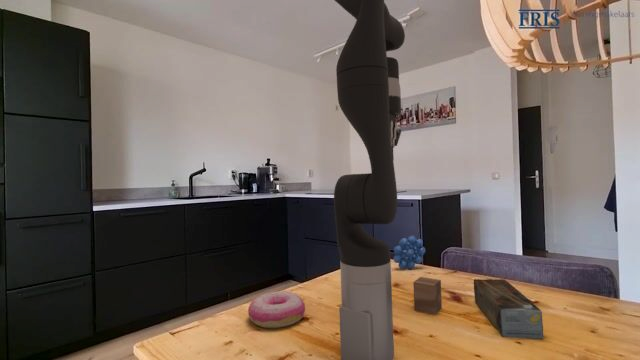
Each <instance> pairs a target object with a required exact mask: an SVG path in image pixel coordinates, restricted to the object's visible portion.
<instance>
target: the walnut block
mask: <svg viewBox="0 0 640 360" xmlns="http://www.w3.org/2000/svg"><path fill="white" fill-rule="evenodd" d="M412 283H413V303H414V304H413V308H414V310H413V311H414V312H415V311H416V312H418V313H423V314H427V315H432V316H436V315H437V314H438V313H439V312H440V311H441V310H442V308H443V306H442V305H443V302H442V280H441V279H437V278H432V277H431V278H430V277H427V276H426V277H424V276H420V277H419V278H417V279H415V280H414V281H413V282H412Z"/></svg>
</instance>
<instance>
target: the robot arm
mask: <svg viewBox="0 0 640 360" xmlns="http://www.w3.org/2000/svg"><path fill="white" fill-rule="evenodd" d="M334 2H335V3H337V4H338V5H339V6H341V8H343V10H345V11H346V12H347V13H348V14H349V15H351V16H352V17H354V19H355V20H356V21H355V24H354V25H353V28H352V30H351V32H350V33H349V35H348V37H347V39H346V42H345V43H344V45H343V48H342V50H341V52H340V55H339V56H338V57H339V58H338V60H337V64H336V69H335V70H336V71H335V72H336V86H337V87H336V88H337V89H336V90H337V91H336V92H337V100H338V101H337V102H338V105H339V108H340V110H341V111H342V113H343V115H344V116H345V118H346V120H347V121H348V122H349V124H350V125H351V126H352V128H353V129H354V130H355V131H356V133H357V134H358V136H359V137H360V139H361V141H362V143H363V144H364V146H365V148H366V151H367V154H368V159H369V164H370V169H371V173H351V174H344V175H342V176H339V178H338V179H337V181H336V184H335V185H334V191H333V206H334V207H333V209H334V221H335V230H336V233H335V234H336V243H337V248H338V252H339V263H340V264H339V265H340V267H339V268H340V294H341V296H340V297H341V305H340V306H339V311H338V312H339V313H338V314H339V338H340V359H341V360H394V358H395V348H394V347H395V346H394V344H395V343H394V340H395V339H394V317H393V295H392V294H393V293H392V292H393V291H392V289H393V288H392V263H391V249H390V246H389V245H388V244H387V243H386V242H384V241H382V240H380V239H377V238H375V237H374V236H372V235H370V233H368V232H367V231H366V230H365V229H364V227H363V224H364V225H389V224H391V223H393V221H394V220H395V219H396V215H397V211H398V190H397V180H396V179H397V178H396V173H395V172H396V171H395V164H394V160H395V159H394V158H395V157H394V148H395V147H397V146H398V144H399V140H400V139H401V138H400V137H401V134H402V130H401V128H398V122H397V117H399V116H400V115H401V114H402V98H401V97H402V95H401V85H400V73H399V71H400V70H399V62H398V60H397V59H396V58H395V57H391V56H388V55H387V53H388V52H393V51H396V50H399V49H400V48H401V47H402V46H403V44H404V43H405V38H406V35H405V30H404V26H403V25H402V23H401V22H400V21H399V20H398V19H397V18H395V17H394V16H393V15H391V13H390V10H389V9H388V6H387V4H386V3H385V0H334Z"/></svg>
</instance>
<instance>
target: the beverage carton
mask: <svg viewBox="0 0 640 360" xmlns="http://www.w3.org/2000/svg"><path fill="white" fill-rule="evenodd" d="M473 292H474V302H475V303H476V304H477V306H478V307H479V309H480V310H481V311H482V312H483V313H484V315H485V316H486V318H487V319H488V320H489V321H490V322H491V324H492V325H493V326H494V328H495V329H496V330H497V331H498V333H499V334H500V336H502V338H516V339H533V340H534V339H536V340H543V339H544V337H545V336H544V325H543V324H544V323H543V321H544V320H543V311H542V309H540V308H539V307H538V306H537V305H535V304H534V302H532V300H530V299H528V297H526V295H525V294H523V293H522V292H521V291H520V290H518V289H517V288H516V287H515V286H514V285H512V284H511V283H510V282H508V280H506V279H504V278H503V279H501V278H500V279H491V278H490V279H489V278H487V279H479V278H478V279H474V280H473Z"/></svg>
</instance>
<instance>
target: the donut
mask: <svg viewBox="0 0 640 360" xmlns="http://www.w3.org/2000/svg"><path fill="white" fill-rule="evenodd" d="M305 311H306V306H305V302H304V300H303V298H302V297H301V296H299V295H298V294H296V293H293V292H290V291H271V292H267V293H263V294H261V295H259V296H257V297H255V298H254V299H253V300H252V301H251V302H250V304H249V306H248V310H247V312H248V316H249V317H248V318H249V319H250V320H251V322H252V323H254V324H255V325H257V326H259V327H261V328H266V329H267V328H268V329H279V328H280V329H281V328H284V327H288V326H291V325H294V324H296V323H297V322H299V321H300V320H301V319H302V318H303V317H304V314H305Z"/></svg>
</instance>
